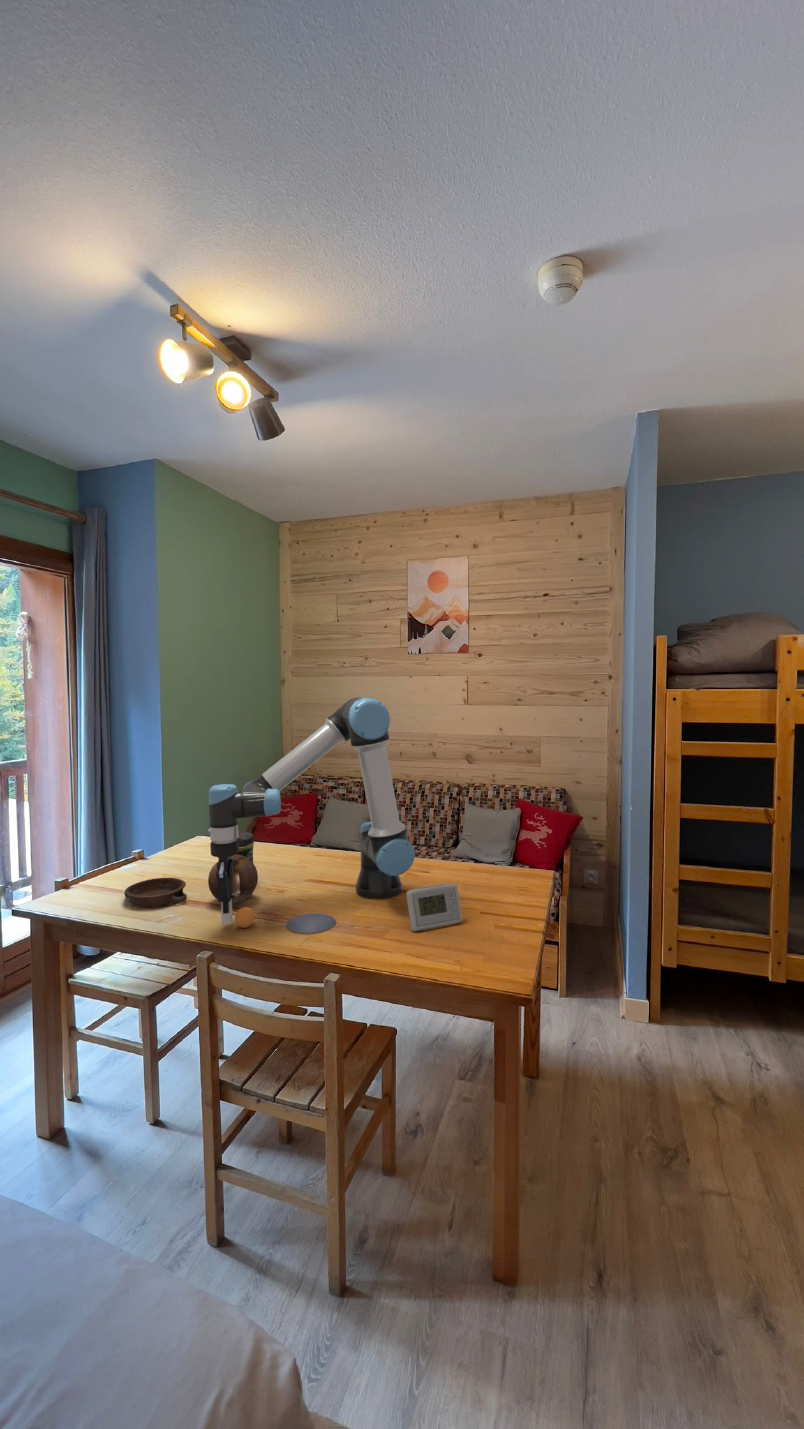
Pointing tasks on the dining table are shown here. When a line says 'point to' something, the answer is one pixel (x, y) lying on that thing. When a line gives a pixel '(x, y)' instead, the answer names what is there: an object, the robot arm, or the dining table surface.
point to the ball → (244, 917)
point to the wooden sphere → (237, 879)
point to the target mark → (311, 923)
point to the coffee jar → (245, 844)
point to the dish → (156, 892)
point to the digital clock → (433, 907)
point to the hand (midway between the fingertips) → (227, 922)
